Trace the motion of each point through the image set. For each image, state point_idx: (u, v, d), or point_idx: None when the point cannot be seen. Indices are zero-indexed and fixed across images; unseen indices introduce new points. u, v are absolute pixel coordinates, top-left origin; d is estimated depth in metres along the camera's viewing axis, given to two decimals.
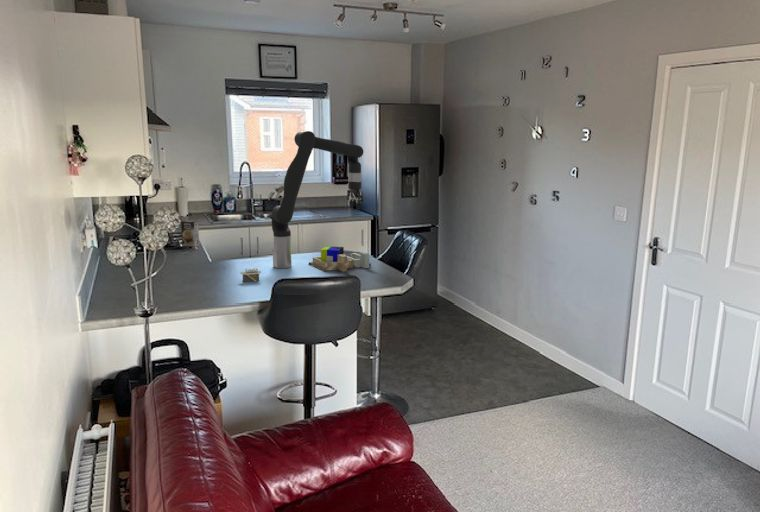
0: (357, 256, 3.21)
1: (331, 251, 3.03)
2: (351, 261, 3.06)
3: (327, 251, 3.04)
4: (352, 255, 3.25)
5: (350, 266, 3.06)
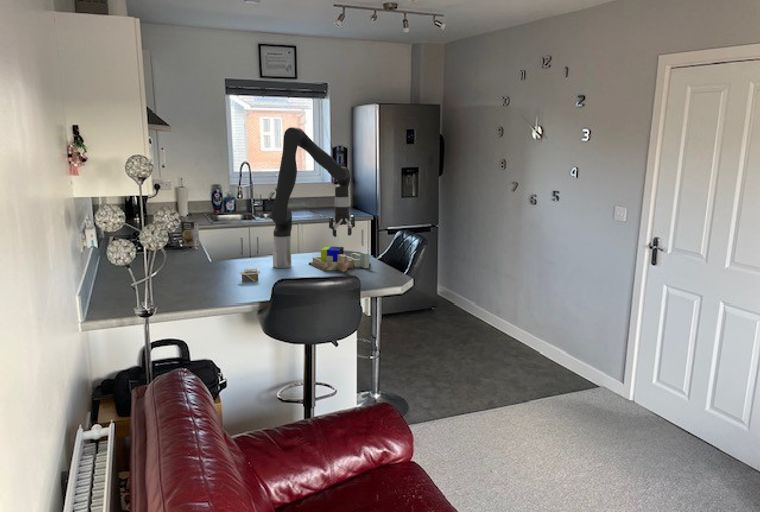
0: (357, 256, 3.21)
1: (331, 251, 3.03)
2: (351, 261, 3.06)
3: (327, 251, 3.04)
4: (352, 255, 3.25)
5: (350, 266, 3.06)
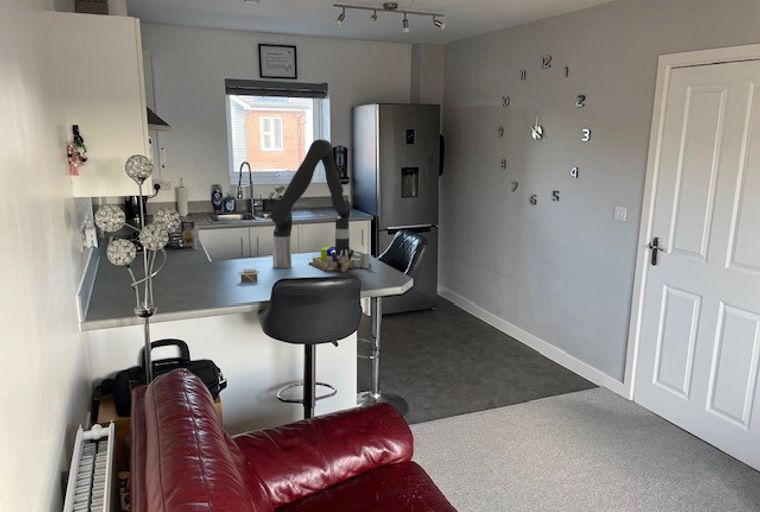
0: (357, 256, 3.21)
1: None
2: (351, 261, 3.06)
3: (327, 251, 3.04)
4: (352, 255, 3.25)
5: (350, 266, 3.06)
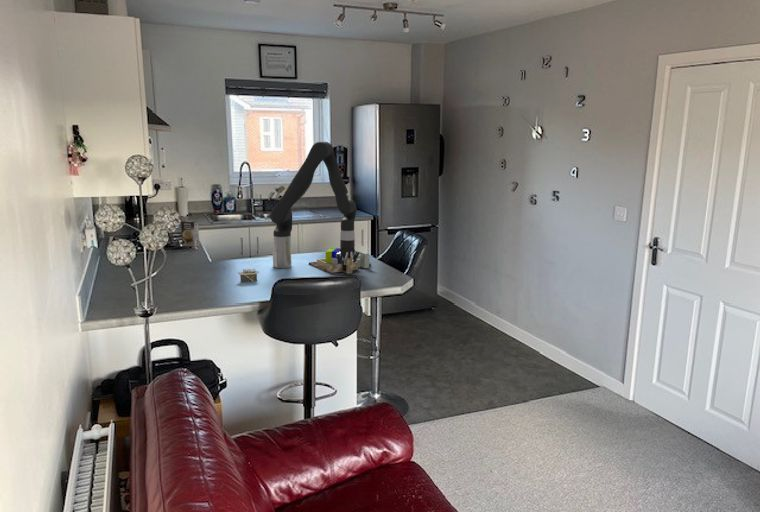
0: None
1: None
2: (356, 263, 3.01)
3: (332, 253, 2.99)
4: None
5: (355, 268, 3.02)
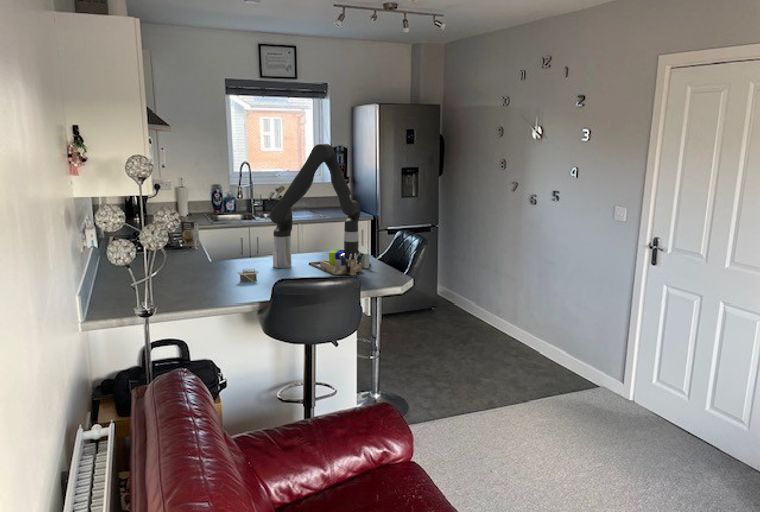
0: (357, 256, 3.21)
1: (340, 254, 2.95)
2: (360, 265, 2.98)
3: (335, 254, 2.96)
4: None
5: (359, 270, 2.98)
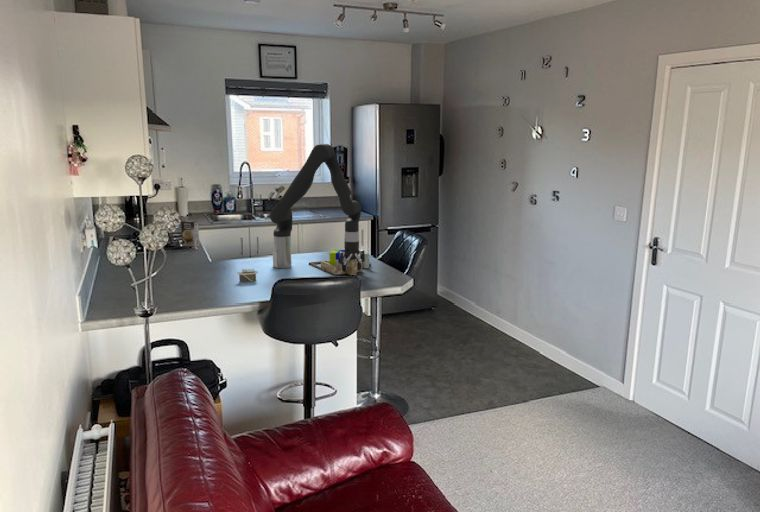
0: None
1: None
2: None
3: (336, 254, 2.95)
4: None
5: (359, 270, 2.98)
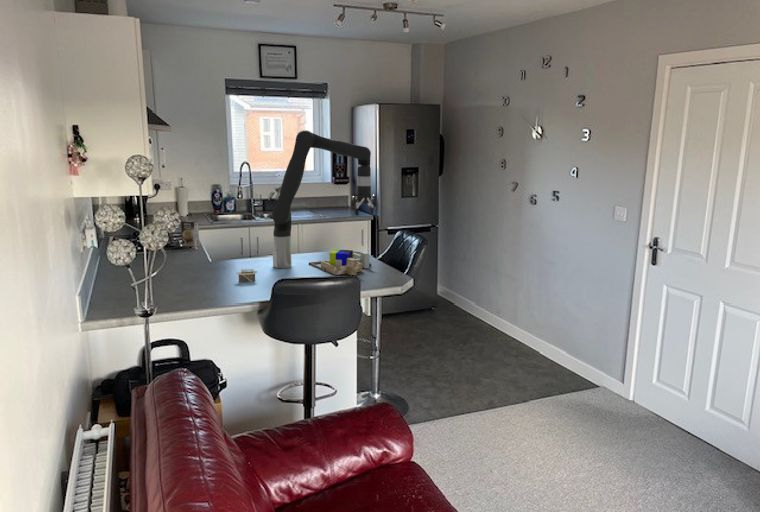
0: (357, 256, 3.21)
1: (340, 254, 2.95)
2: (360, 265, 2.98)
3: (336, 254, 2.95)
4: None
5: (359, 270, 2.98)
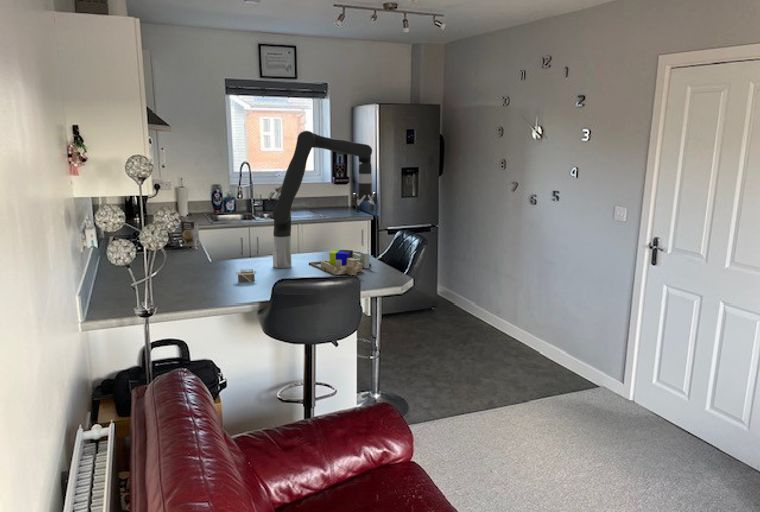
0: (357, 256, 3.21)
1: (340, 254, 2.95)
2: (360, 265, 2.98)
3: (336, 254, 2.95)
4: None
5: (359, 270, 2.98)
